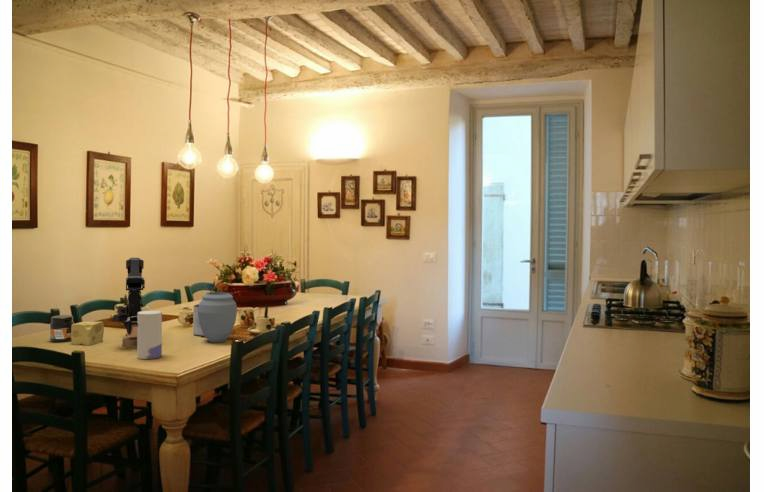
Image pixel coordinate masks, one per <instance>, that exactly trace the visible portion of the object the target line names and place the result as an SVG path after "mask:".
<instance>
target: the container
mask: <svg viewBox="0 0 764 492" xmlns="http://www.w3.org/2000/svg"><path fill="white" fill-rule="evenodd" d="M162 321H163V312H162V311H160V310H149V311H148V310H142V311H141V312H138V315H137V348H136V349H137V350H136V352H137V354H136V355H137V356H136V358H137V359H141V360H152V359H157V358H161V357H162V355H163V353H162V351H163V349H162V346H163V345H162V344H163V343H162V342H163V341H162V338H163V336H162V335H163V331H162V329H163V328H162V326H163V324H162V323H163V322H162Z"/></svg>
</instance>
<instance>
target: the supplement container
mask: <svg viewBox="0 0 764 492" xmlns="http://www.w3.org/2000/svg"><path fill="white" fill-rule="evenodd" d="M72 324H75V322H74V316H73V315H71V314H64V315H63V314H59V315H54V316H53V315H52V316H51V317H50V324H49V327H50V328H49V331H50V332H49V336H50V338H49V339H50V340H49V341H51V342H52V343H68V342H72V341H71V326H72Z"/></svg>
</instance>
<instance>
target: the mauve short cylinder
mask: <svg viewBox="0 0 764 492" xmlns="http://www.w3.org/2000/svg"><path fill="white" fill-rule="evenodd" d="M122 347H124V348H127V349H128V348H129V349H132V350H133V349H137V337H128V336H126V337H123V338H122ZM129 349H128V350H129Z"/></svg>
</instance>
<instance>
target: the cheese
mask: <svg viewBox="0 0 764 492" xmlns="http://www.w3.org/2000/svg"><path fill="white" fill-rule="evenodd" d="M104 332H105V326H104V322H103V321H88V320H87V321H86V320H85V321H80V322H76V323H74V324H72V326H71V341H70V342H71V345H83V346H91V345H95V344H99V343H103V339H104Z"/></svg>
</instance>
